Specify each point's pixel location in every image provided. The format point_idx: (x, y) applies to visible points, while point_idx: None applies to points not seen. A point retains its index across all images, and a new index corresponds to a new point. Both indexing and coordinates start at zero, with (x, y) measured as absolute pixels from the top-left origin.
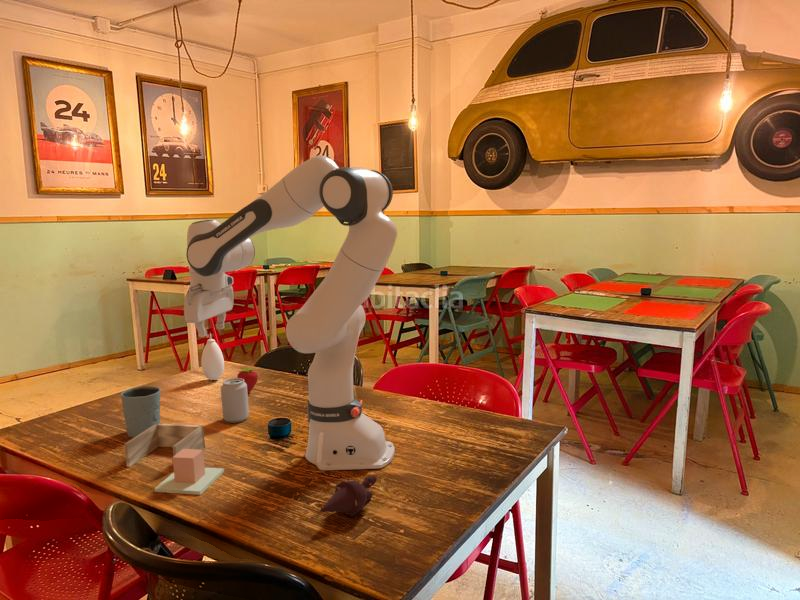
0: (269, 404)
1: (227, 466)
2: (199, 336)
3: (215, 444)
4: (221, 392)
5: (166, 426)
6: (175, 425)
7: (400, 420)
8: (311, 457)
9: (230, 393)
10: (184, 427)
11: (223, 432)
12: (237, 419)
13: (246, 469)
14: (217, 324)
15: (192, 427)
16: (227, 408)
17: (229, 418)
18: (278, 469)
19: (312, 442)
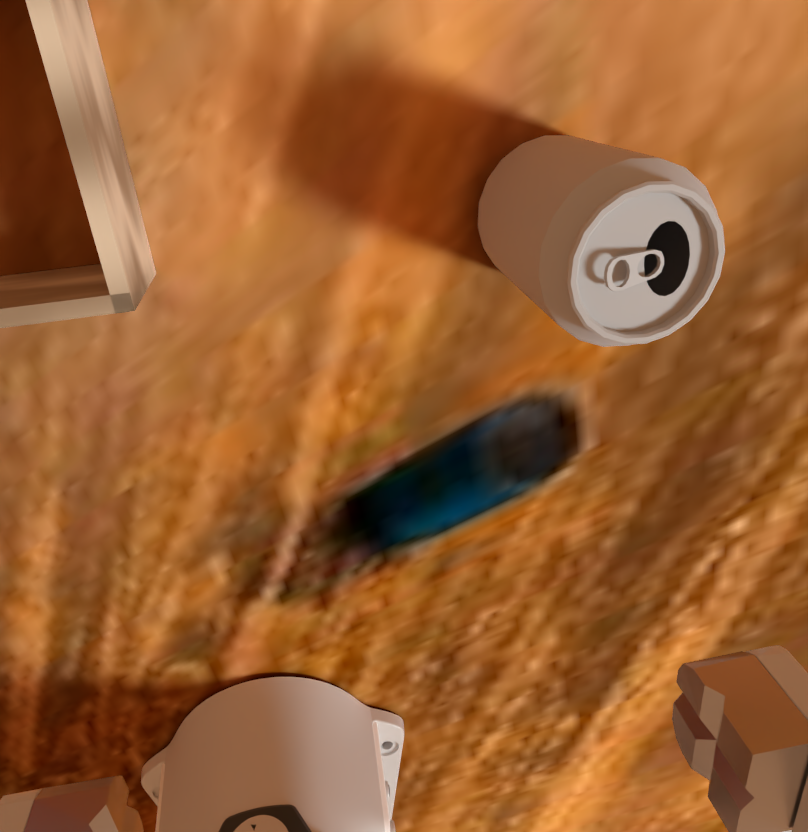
0: (763, 270)
1: (27, 491)
2: (5, 812)
3: (207, 303)
4: (557, 189)
5: (41, 45)
6: (65, 120)
7: (586, 792)
8: (181, 741)
9: (533, 277)
10: (82, 193)
11: (356, 250)
12: (491, 260)
13: (40, 569)
14: (735, 758)
15: (98, 251)
16: (499, 223)
17: (482, 219)
18: (94, 661)
19: (186, 790)
